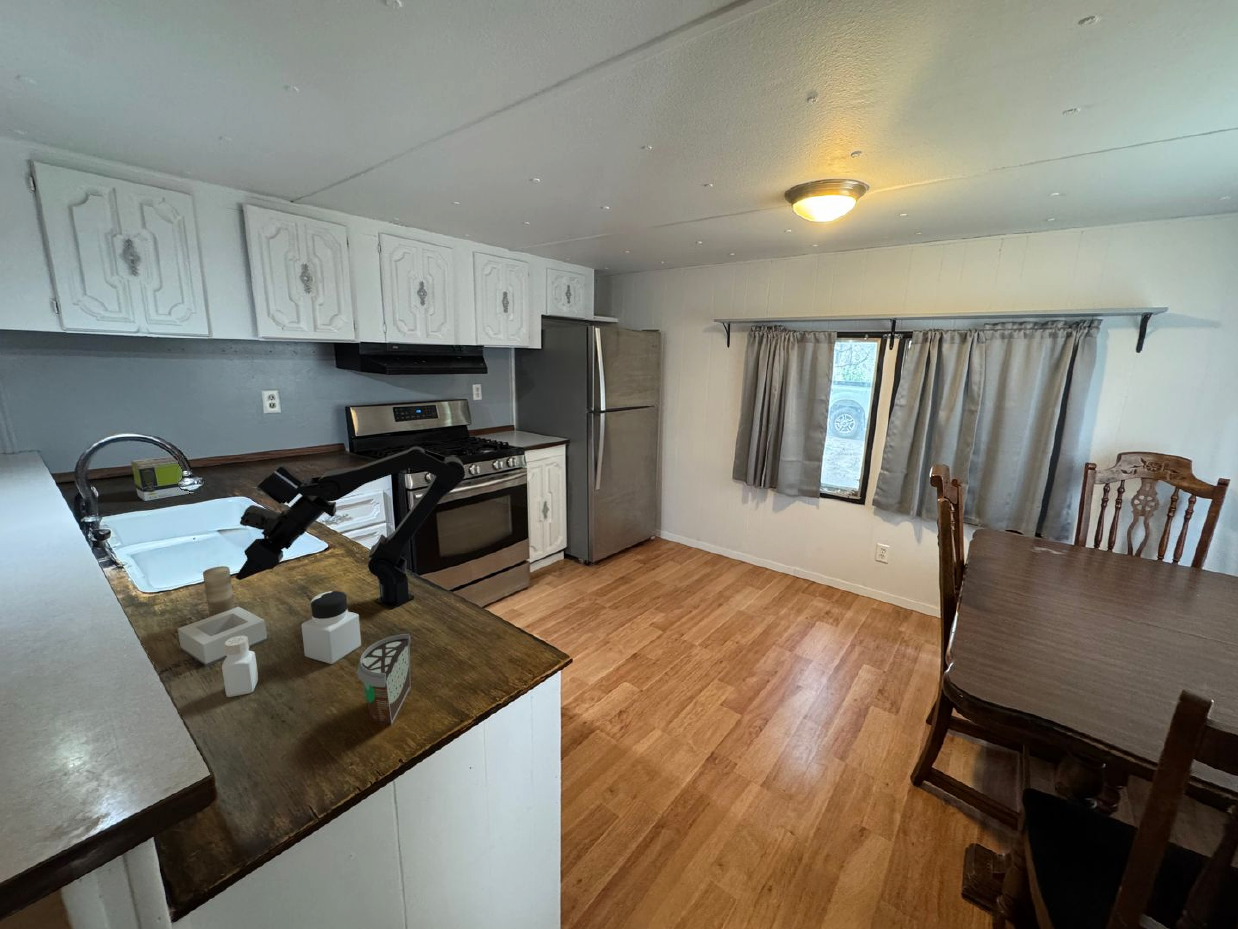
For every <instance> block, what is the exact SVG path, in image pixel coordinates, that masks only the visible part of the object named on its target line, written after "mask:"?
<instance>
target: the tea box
mask: <svg viewBox="0 0 1238 929" xmlns="http://www.w3.org/2000/svg"><path fill="white" fill-rule="evenodd" d="M172 456H173V455H169V456H162V457H151V458H143V459H136V460H131V461H130V463H131V468H132V473H133V478H134V485H135V490H136V493H137V497H139V498H140V499H141V500H143V501H145V502H147V501H153V500H158V499H164V498H171V497H176V496H183V495H189V493H190V494H194V492H189V491H184V490H181V489H180V488H179V486H178V483H179V481H180V480H181V479H182V476H183V472H182V469H181V467H180V466H179V464H178V461H177V460H175V459H174V458H173V457H172ZM187 460H188V461H189V458H187Z"/></svg>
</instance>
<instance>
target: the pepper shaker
mask: <svg viewBox="0 0 1238 929" xmlns="http://www.w3.org/2000/svg"><path fill="white" fill-rule="evenodd" d="M225 651H226V655H227V657H226V658H225V659H223V660H224V661H223V662H222V665H221V669H222V674H223V675H222V677H223V683H224V689H225V691H224V692H225V695H226V697H228V698H231V697H236V696H242V695H247V694H251V693H253V692H254V690H255V688H256V686H257V684H258V681H259V674H258V665H257V659H256V658H257V657H256V653H255V651H252V650H250V648H249V646H248V638H247V637H246V636H236V637H233V638H230V639H228V640H227V641H226V642H225Z"/></svg>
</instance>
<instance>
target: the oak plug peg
mask: <svg viewBox="0 0 1238 929" xmlns="http://www.w3.org/2000/svg"><path fill="white" fill-rule="evenodd" d="M202 577H203V583H204V591H205V595H206V603H207V611H208V618H209V617H211V616H214V615H217V614H220V613H222V612H225V611H228V610H231V609H234V608H236V607H235V600H234V592H233V585H232V578H231V571H230V567H229V566H214V567H211V568H207V569H206V570H204V571H203V572H202Z"/></svg>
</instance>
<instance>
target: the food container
mask: <svg viewBox="0 0 1238 929" xmlns="http://www.w3.org/2000/svg"><path fill="white" fill-rule="evenodd" d="M411 643H412V640H411V636H410V633H402V634H397V635H392V636H388V637H385V638H383V639H380V640H378V641H376V642H374V643H373V644H371V645H370V646H369V647H367V648H366V649H365V650H364V651H363V653H362V655H361V656H360V658H359V661H358V665H357V670H356V671H357V677H358V679H359V680H360V681H361V682H362V683H363V687H364V691H365V692H364V693H365V699H366V704H367V708H368V714H369V717H370V719H371V720H372V721H373V722H375V723H377V724H379V725H380V724H381V725H389V726H392V725H393V723H394V721H395V718H396V717H397V715H398V713H399V711H400V709H401V707H402V705H403V703H404V701H405V699H406V697H407V695H408V693H409V691H410V689H411V654H410V653H411V648H410V644H411Z"/></svg>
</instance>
